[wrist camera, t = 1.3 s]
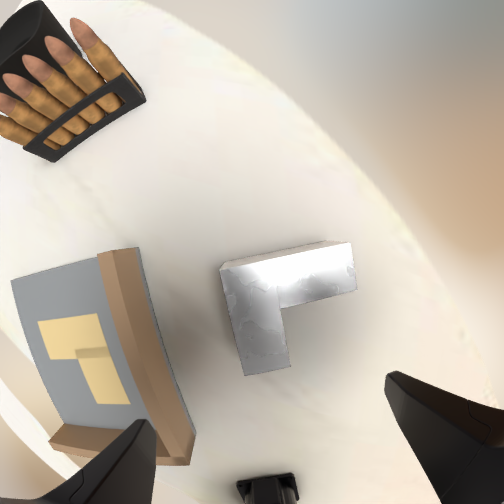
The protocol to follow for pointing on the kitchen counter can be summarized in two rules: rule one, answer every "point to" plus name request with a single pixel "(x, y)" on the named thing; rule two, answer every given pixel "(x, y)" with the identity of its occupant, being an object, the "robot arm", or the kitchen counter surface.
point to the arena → (103, 355)
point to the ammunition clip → (67, 96)
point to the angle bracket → (280, 296)
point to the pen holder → (29, 43)
